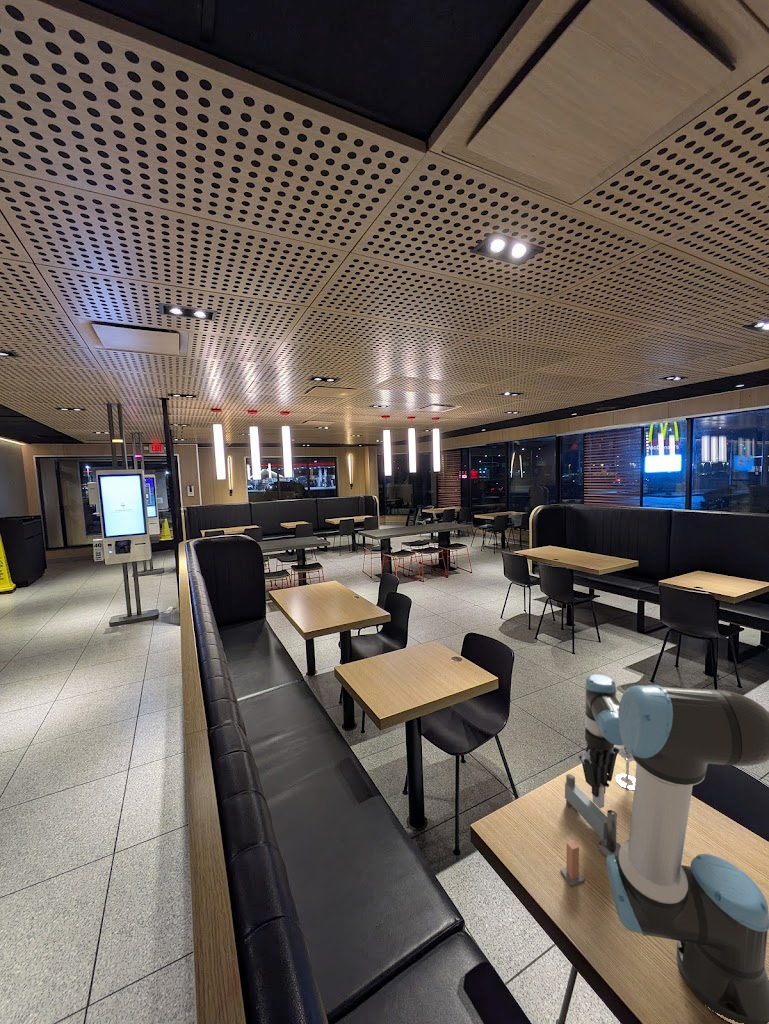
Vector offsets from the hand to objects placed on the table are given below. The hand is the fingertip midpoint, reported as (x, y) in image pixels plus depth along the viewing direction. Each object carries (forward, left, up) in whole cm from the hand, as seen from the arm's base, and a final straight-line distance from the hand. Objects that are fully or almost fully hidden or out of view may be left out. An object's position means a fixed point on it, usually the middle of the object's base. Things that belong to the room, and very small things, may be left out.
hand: (598, 804), depth 121 cm
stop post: (-12, +19, -4) cm, 23 cm away
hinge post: (-10, +5, -4) cm, 12 cm away
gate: (-1, +5, -4) cm, 6 cm away
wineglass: (+7, -18, -4) cm, 20 cm away
